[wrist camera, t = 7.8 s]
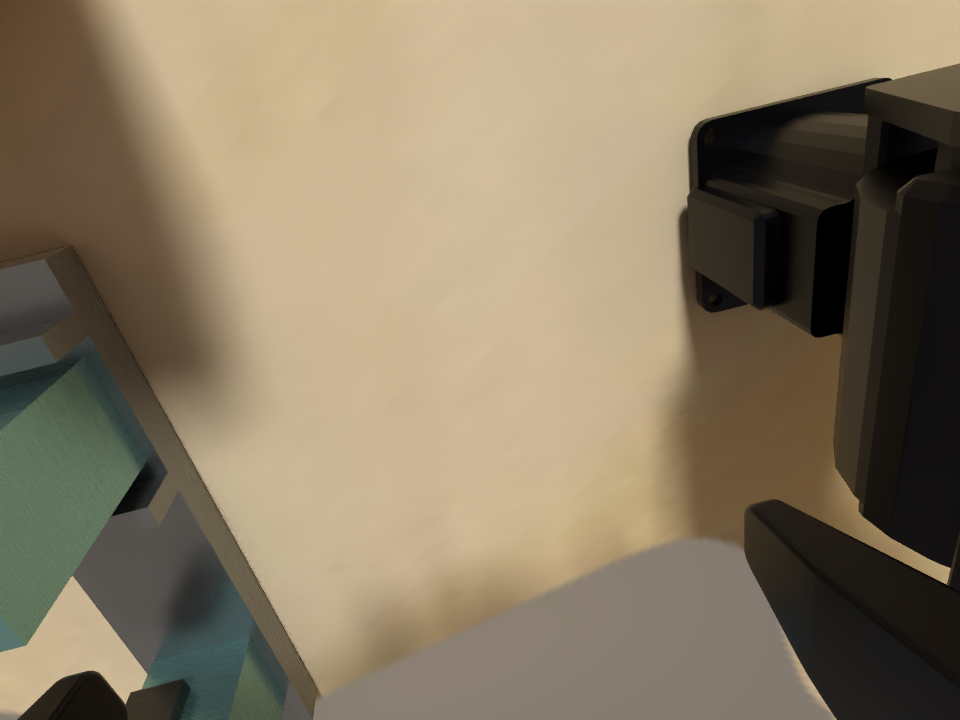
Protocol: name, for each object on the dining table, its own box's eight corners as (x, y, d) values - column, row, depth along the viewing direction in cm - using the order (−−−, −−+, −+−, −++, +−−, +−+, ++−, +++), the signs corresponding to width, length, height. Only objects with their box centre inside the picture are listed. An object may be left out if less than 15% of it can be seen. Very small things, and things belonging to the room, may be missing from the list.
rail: (71, 245, 17) (-182, 374, 10) (316, 688, 27) (286, 922, 20) (-94, 284, 17) (-481, 446, 10) (213, 715, 27) (143, 961, 20)
